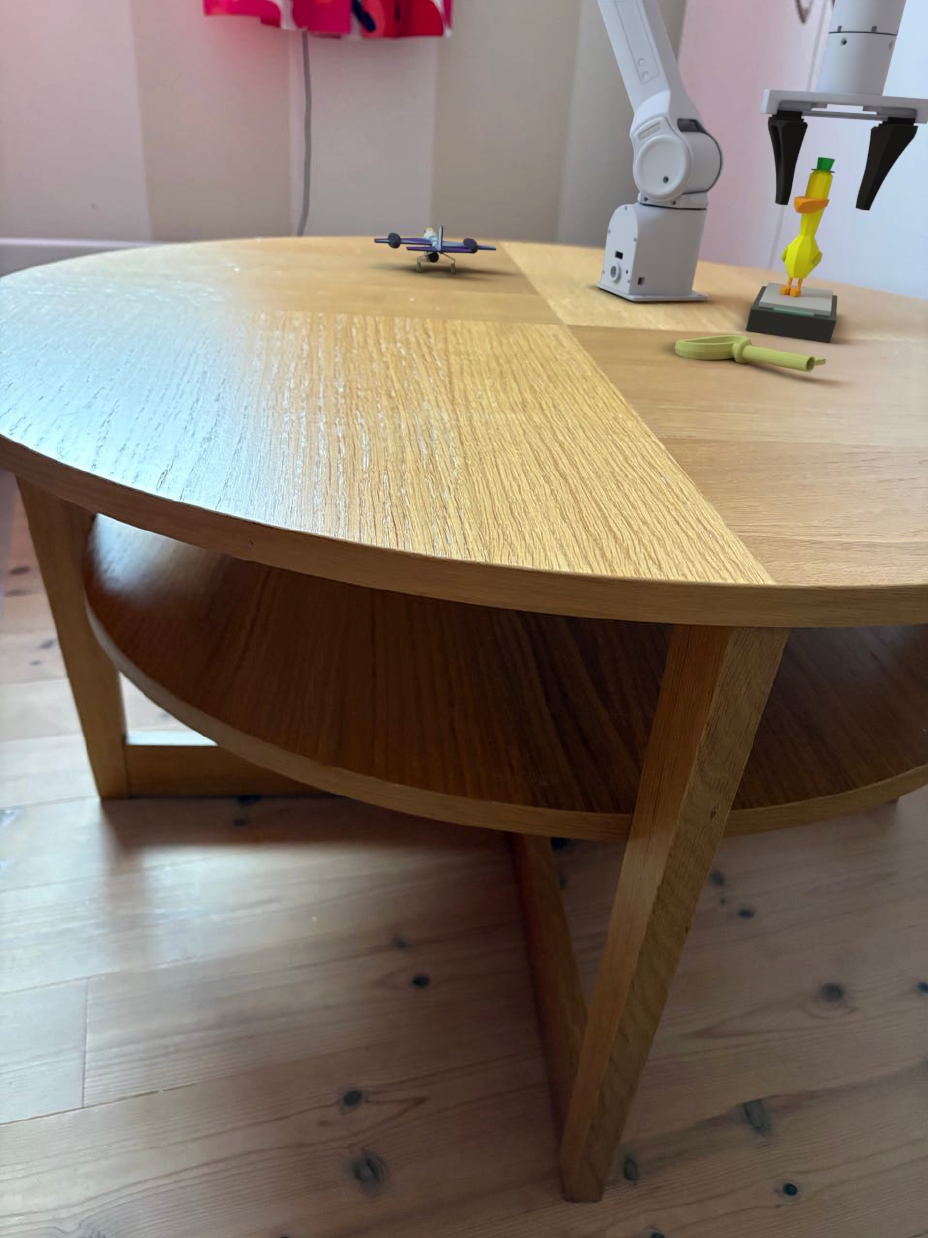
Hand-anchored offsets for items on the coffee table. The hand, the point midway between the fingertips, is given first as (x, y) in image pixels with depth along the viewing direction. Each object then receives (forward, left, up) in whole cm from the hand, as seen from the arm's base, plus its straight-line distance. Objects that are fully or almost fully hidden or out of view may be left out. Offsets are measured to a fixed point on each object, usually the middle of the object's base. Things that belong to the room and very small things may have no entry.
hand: (821, 206), depth 84 cm
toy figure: (-2, 0, -8) cm, 8 cm away
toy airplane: (-28, +28, -11) cm, 41 cm away
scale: (-1, -1, -10) cm, 11 cm away
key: (-17, -13, -11) cm, 24 cm away
